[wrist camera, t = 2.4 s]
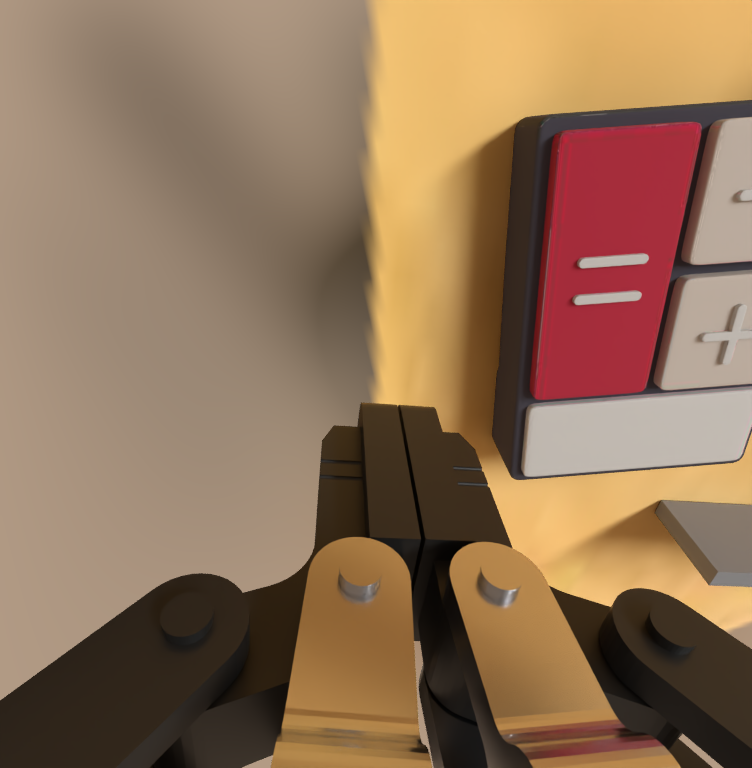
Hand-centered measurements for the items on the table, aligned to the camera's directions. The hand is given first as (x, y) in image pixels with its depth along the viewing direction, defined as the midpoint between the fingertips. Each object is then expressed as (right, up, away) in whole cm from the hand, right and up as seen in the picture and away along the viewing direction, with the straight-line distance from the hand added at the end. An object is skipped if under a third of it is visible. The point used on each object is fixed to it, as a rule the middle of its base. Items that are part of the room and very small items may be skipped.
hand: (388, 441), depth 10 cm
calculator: (+11, +5, +12) cm, 17 cm away
